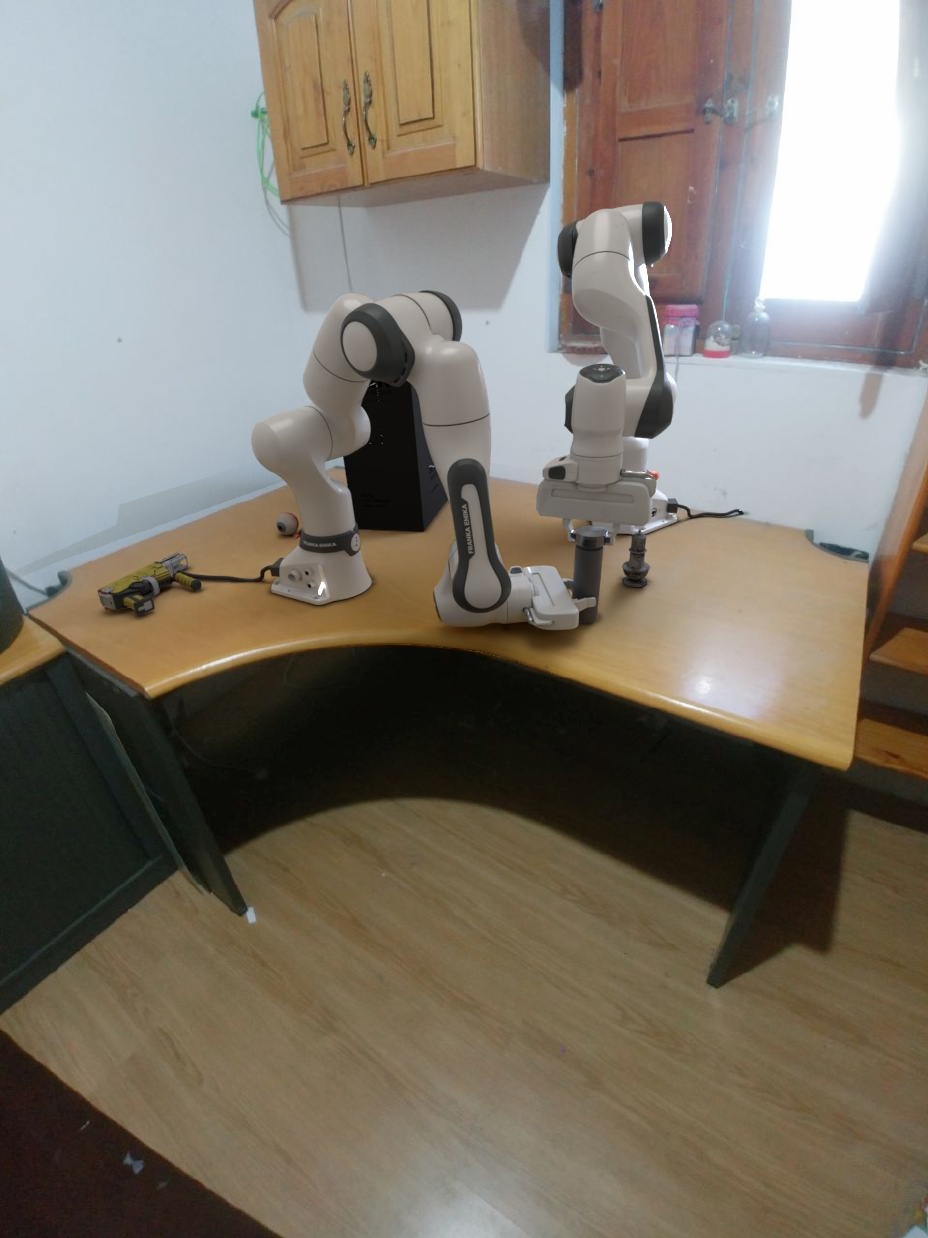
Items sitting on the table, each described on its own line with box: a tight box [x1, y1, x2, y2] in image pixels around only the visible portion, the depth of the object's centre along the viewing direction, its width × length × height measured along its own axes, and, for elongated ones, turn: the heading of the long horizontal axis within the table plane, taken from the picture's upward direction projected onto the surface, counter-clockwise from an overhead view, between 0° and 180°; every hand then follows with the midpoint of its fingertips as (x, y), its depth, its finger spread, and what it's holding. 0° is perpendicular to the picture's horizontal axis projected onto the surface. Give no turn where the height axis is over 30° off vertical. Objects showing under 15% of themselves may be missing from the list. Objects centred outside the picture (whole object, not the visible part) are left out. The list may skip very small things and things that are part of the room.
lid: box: [574, 524, 609, 548], centre depth 110 cm, size 6×6×2 cm
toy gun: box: [97, 551, 203, 617], centre depth 137 cm, size 5×24×15 cm
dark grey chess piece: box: [621, 529, 651, 588], centre depth 127 cm, size 6×6×12 cm
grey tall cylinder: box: [571, 542, 605, 624], centre depth 114 cm, size 5×5×17 cm
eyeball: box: [275, 511, 300, 536], centre depth 163 cm, size 6×6×6 cm
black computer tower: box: [342, 380, 448, 532], centre depth 169 cm, size 38×20×45 cm, turn 167°
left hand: (590, 592), depth 116 cm, fingers closed on grey tall cylinder, 5 cm apart
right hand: (590, 542), depth 110 cm, fingers closed on lid, 5 cm apart
